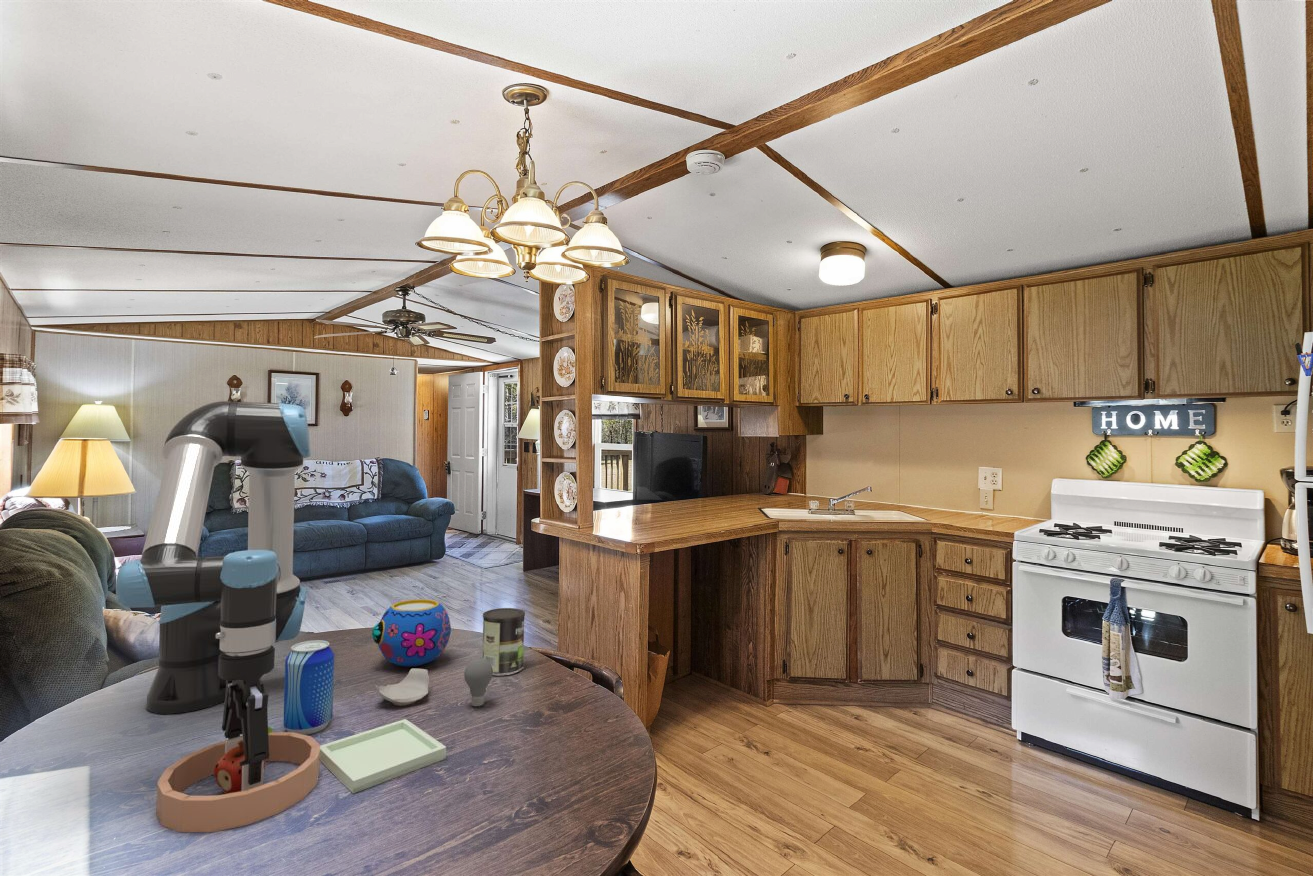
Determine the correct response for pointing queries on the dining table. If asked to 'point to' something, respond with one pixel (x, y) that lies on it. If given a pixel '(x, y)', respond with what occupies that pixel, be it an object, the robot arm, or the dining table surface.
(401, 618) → the ceramic pot
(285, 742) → the ring band
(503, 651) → the coffee can
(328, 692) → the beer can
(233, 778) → the apple
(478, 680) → the light bulb
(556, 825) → the dining table surface
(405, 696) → the pottery shard
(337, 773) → the tray
